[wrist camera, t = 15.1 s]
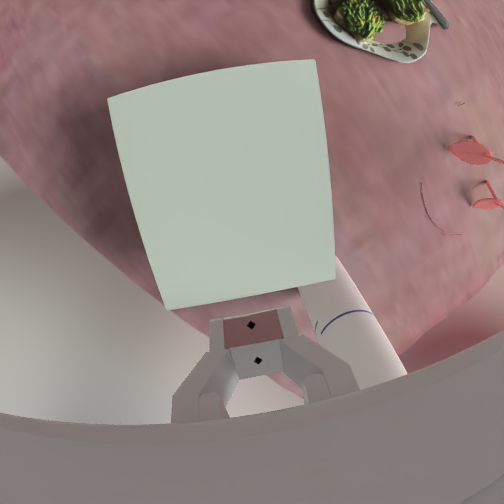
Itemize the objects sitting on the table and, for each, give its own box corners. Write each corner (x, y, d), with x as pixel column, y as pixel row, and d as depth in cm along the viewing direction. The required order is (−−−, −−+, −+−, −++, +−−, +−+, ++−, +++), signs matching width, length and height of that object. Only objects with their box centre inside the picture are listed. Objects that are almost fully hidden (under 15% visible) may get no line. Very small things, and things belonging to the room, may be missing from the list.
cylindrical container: (350, 261, 43) (437, 401, 22) (325, 298, 46) (387, 441, 25) (310, 245, 41) (391, 401, 20) (285, 285, 44) (337, 444, 22)
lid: (110, 98, 21) (107, 98, 20) (311, 60, 21) (314, 59, 20) (167, 305, 29) (166, 310, 29) (332, 274, 30) (335, 278, 29)
